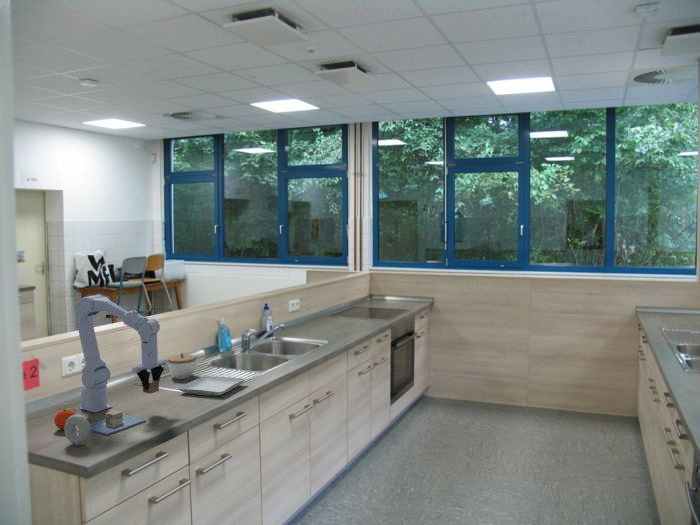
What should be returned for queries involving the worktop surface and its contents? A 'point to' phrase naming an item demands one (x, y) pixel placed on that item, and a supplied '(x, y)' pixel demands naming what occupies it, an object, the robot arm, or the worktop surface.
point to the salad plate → (211, 385)
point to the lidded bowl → (182, 366)
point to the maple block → (114, 417)
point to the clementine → (63, 417)
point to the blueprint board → (108, 429)
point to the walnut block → (152, 386)
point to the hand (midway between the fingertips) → (150, 387)
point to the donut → (82, 426)
